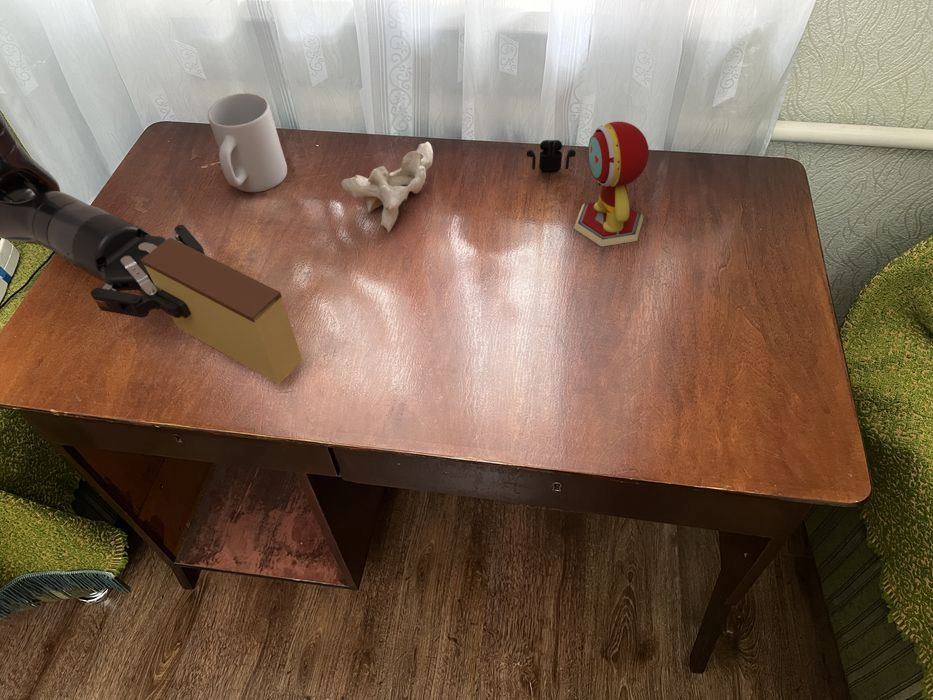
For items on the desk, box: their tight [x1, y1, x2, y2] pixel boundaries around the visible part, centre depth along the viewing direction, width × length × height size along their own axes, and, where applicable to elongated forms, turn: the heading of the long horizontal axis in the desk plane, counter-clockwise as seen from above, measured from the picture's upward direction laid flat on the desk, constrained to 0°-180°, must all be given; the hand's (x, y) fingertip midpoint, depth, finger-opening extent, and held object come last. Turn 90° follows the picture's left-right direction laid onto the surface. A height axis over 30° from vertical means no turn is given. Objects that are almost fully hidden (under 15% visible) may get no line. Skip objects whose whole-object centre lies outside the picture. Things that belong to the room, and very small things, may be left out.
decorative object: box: [340, 141, 434, 234], centre depth 96 cm, size 9×14×8 cm, turn 140°
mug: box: [207, 92, 288, 193], centre depth 99 cm, size 12×8×11 cm
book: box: [141, 238, 303, 385], centre depth 76 cm, size 16×4×11 cm, turn 58°
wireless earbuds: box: [526, 139, 577, 172], centre depth 101 cm, size 7×2×5 cm, turn 88°
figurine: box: [573, 120, 650, 247], centre depth 89 cm, size 9×10×15 cm
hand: (202, 297), depth 77 cm, fingers closed on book, 4 cm apart
